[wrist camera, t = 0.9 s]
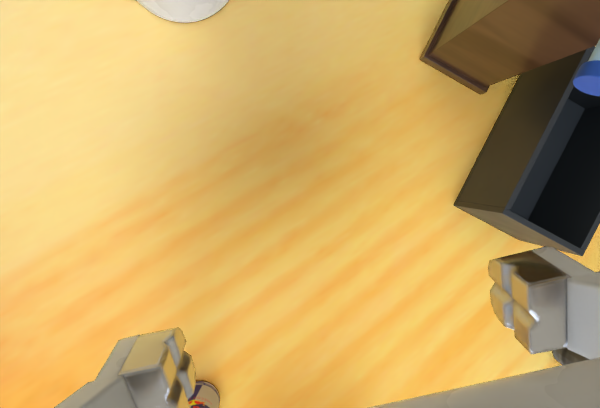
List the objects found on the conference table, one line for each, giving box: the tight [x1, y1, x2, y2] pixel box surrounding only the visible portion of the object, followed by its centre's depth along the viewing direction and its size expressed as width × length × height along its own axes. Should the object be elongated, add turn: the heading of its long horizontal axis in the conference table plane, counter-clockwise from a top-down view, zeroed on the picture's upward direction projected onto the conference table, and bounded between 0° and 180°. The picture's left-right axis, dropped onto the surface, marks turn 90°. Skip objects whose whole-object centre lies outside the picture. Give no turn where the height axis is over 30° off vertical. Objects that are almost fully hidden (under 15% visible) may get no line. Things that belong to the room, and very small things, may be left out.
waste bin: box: [454, 46, 600, 256], centre depth 52 cm, size 21×11×12 cm, turn 153°
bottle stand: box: [420, 0, 600, 94], centre depth 43 cm, size 10×10×28 cm
